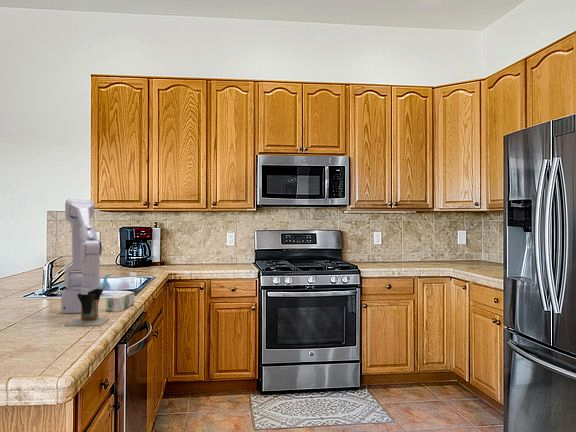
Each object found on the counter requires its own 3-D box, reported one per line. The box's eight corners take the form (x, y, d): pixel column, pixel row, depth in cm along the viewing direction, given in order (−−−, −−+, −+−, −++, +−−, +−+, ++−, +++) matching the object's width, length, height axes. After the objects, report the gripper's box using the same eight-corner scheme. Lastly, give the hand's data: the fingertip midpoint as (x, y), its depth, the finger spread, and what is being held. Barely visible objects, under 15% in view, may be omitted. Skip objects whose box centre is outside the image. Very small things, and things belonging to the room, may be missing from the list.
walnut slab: (81, 320, 169) (81, 300, 169) (83, 319, 171) (83, 299, 171) (95, 320, 169) (96, 300, 169) (98, 318, 172) (98, 299, 172)
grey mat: (64, 326, 162) (64, 325, 162) (74, 319, 171) (74, 318, 171) (101, 325, 163) (101, 324, 163) (109, 319, 173) (109, 318, 173)
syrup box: (121, 291, 202) (104, 297, 187) (135, 291, 201) (119, 297, 186) (121, 304, 202) (104, 311, 187) (134, 305, 201) (118, 312, 186)
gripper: (96, 276, 163) (95, 315, 163) (108, 271, 178) (107, 307, 178) (74, 276, 163) (74, 315, 163) (88, 271, 177) (88, 307, 177)
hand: (90, 311), depth 170 cm, fingers open, 7 cm apart
